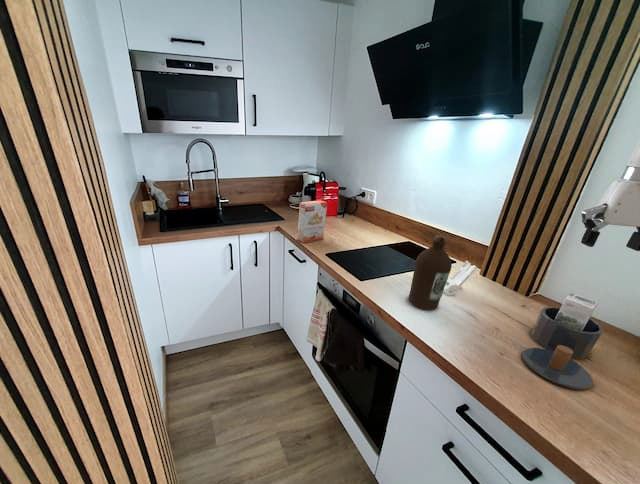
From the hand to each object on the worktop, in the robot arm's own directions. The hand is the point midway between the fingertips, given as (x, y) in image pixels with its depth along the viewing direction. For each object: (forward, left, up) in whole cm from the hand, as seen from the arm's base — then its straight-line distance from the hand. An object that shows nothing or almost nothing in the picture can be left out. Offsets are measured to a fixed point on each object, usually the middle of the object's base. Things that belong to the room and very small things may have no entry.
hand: (609, 246), depth 71 cm
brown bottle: (+34, -13, -31) cm, 47 cm away
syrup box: (0, 0, -30) cm, 30 cm away
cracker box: (+79, -66, -31) cm, 108 cm away
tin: (0, 0, -30) cm, 30 cm away
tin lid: (+8, +12, -30) cm, 33 cm away
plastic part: (+21, -26, -31) cm, 45 cm away
